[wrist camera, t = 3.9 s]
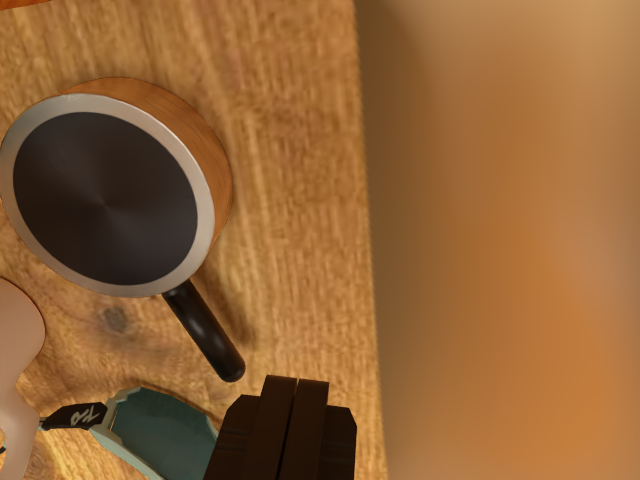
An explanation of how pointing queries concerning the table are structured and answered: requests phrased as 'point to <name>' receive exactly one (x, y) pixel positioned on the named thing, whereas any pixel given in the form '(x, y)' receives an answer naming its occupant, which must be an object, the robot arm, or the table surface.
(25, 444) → the mug
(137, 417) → the sunglasses
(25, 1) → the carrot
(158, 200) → the pan
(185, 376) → the table surface
